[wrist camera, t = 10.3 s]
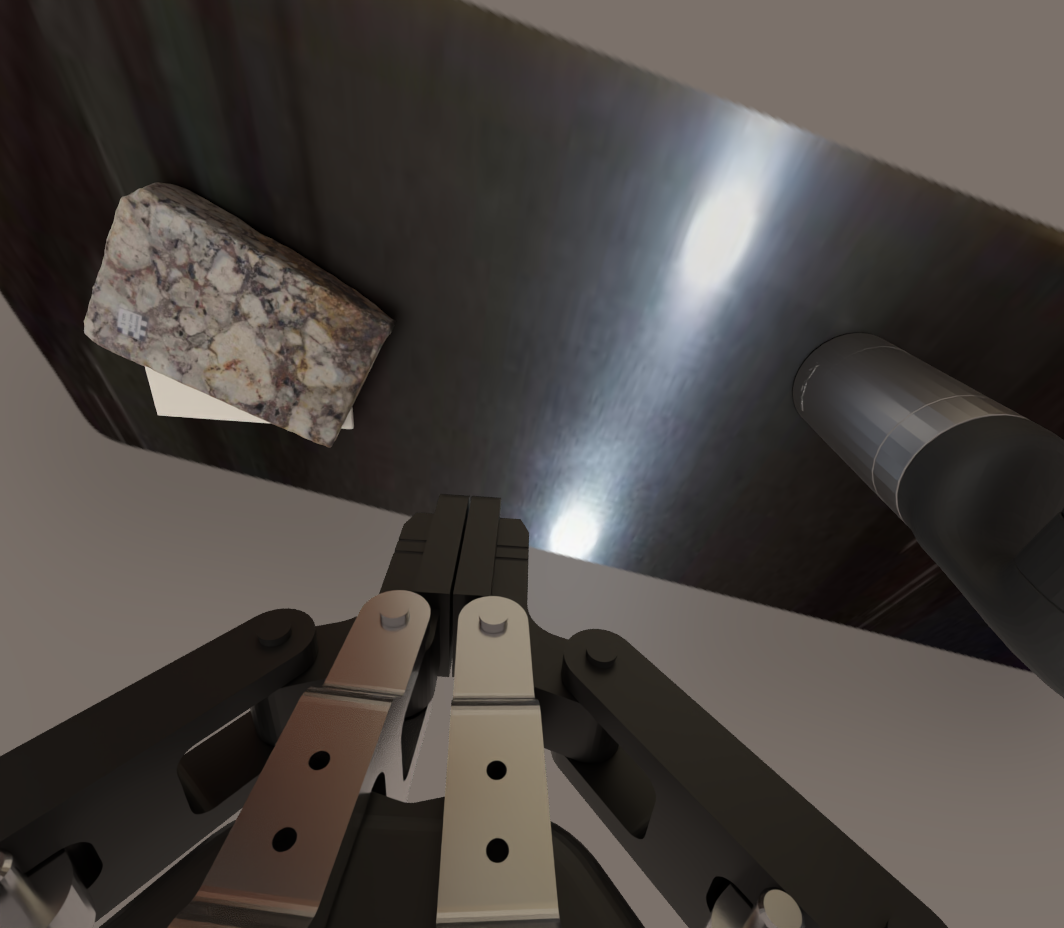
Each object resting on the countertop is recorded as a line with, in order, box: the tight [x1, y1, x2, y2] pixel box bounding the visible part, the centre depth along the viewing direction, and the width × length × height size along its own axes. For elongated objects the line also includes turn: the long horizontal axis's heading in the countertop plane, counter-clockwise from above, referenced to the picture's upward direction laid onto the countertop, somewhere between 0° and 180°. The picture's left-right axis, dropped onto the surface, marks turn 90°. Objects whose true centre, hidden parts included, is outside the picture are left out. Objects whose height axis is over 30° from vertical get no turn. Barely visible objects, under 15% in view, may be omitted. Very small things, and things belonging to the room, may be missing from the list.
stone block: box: [84, 182, 396, 448], centre depth 46 cm, size 13×7×20 cm
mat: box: [145, 366, 354, 429], centre depth 51 cm, size 18×11×1 cm, turn 86°
